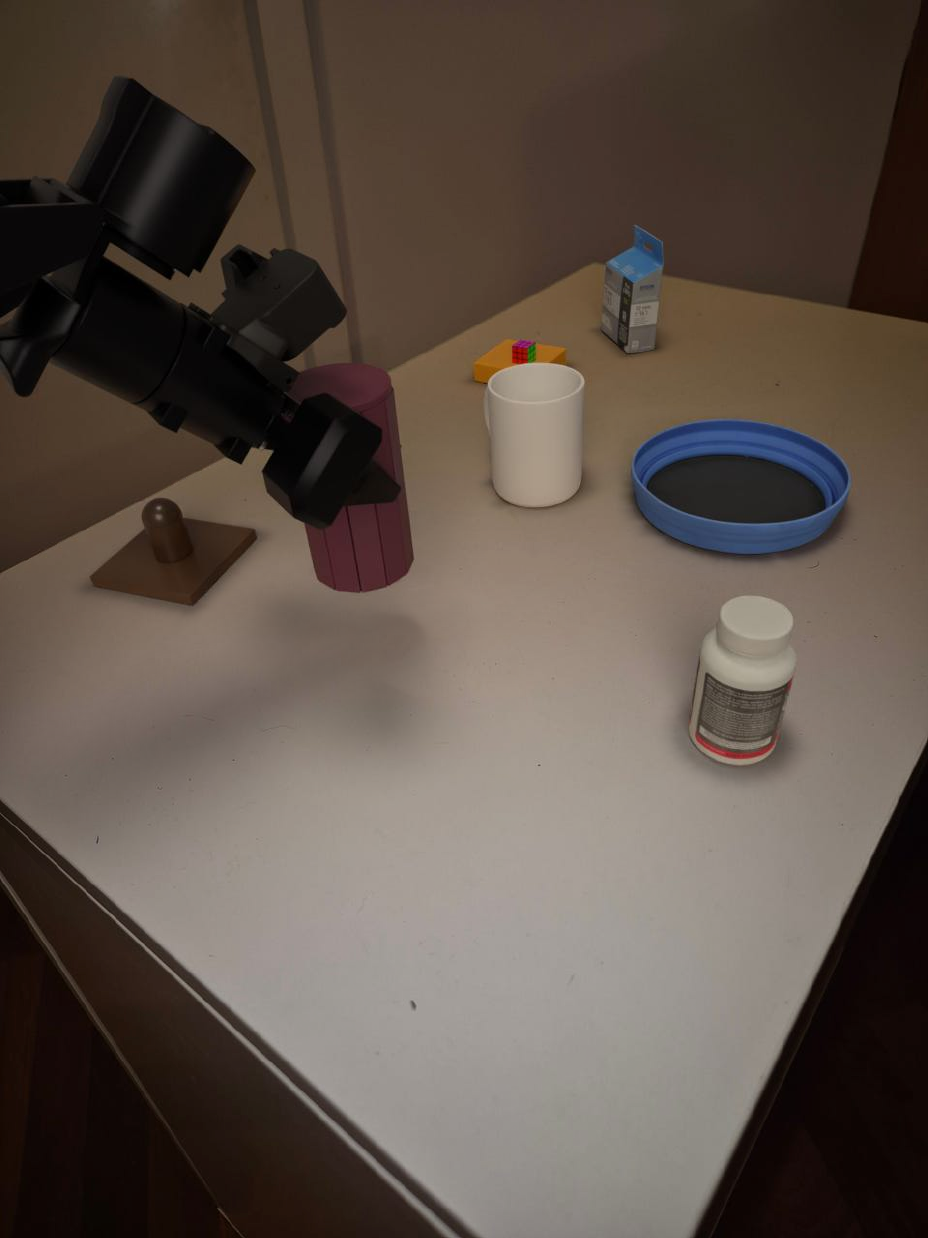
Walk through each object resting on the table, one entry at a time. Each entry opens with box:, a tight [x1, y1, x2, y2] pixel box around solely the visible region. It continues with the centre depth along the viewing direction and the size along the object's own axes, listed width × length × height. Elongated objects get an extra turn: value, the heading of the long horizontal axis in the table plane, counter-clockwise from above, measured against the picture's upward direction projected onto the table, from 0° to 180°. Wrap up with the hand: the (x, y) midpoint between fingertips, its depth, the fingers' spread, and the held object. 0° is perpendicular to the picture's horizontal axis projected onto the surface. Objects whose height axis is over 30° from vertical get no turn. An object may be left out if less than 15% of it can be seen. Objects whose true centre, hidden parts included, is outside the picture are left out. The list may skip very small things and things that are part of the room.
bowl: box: [630, 418, 852, 555], centre depth 72 cm, size 18×18×4 cm
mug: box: [482, 363, 586, 509], centre depth 76 cm, size 12×8×10 cm
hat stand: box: [89, 497, 258, 606], centre depth 70 cm, size 10×10×6 cm
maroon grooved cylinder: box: [281, 362, 415, 594], centre depth 54 cm, size 7×7×13 cm
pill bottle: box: [688, 594, 798, 766], centre depth 50 cm, size 5×5×10 cm
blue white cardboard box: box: [600, 224, 665, 354], centre depth 100 cm, size 9×4×12 cm, turn 14°
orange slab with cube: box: [472, 338, 567, 384], centre depth 96 cm, size 8×8×4 cm
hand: (368, 472), depth 54 cm, fingers closed on maroon grooved cylinder, 7 cm apart
